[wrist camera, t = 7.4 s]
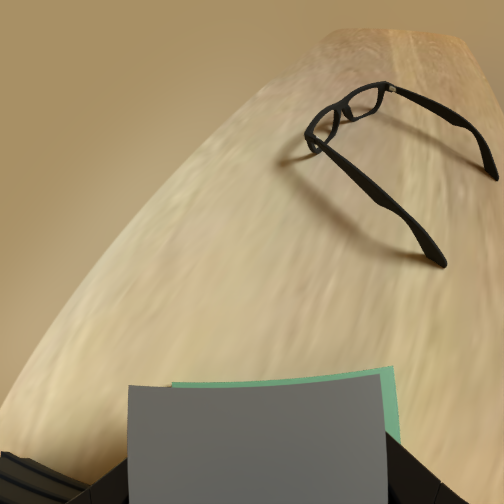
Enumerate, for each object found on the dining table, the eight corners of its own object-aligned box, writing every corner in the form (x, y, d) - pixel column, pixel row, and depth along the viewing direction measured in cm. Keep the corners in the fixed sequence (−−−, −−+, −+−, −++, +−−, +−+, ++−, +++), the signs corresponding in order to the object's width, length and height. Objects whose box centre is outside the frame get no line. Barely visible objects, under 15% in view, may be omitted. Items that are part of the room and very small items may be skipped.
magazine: (-3, 441, 18) (-98, 448, 5) (127, 480, 21) (112, 544, 9) (-4, 475, 16) (-92, 502, 4) (126, 515, 19) (115, 596, 7)
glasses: (377, 106, 36) (380, 72, 32) (499, 178, 27) (514, 145, 23) (287, 170, 32) (283, 131, 28) (438, 278, 23) (459, 245, 19)
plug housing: (329, 402, 14) (379, 373, 5) (334, 494, 12) (382, 590, 3) (229, 409, 15) (128, 385, 6) (232, 498, 12) (139, 585, 3)
